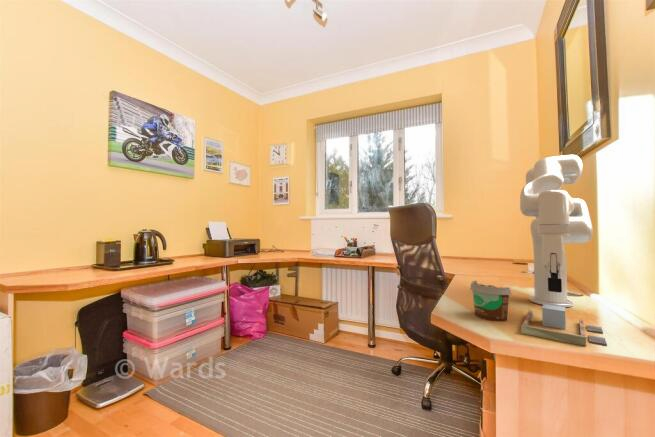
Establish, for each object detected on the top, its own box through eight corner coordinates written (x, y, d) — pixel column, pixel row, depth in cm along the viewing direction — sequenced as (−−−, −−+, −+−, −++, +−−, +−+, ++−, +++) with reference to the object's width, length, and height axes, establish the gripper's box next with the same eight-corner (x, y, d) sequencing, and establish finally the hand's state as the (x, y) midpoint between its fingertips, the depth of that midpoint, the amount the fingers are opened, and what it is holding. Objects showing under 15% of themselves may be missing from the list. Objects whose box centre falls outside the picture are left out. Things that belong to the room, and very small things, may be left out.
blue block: (543, 321, 85) (543, 304, 85) (565, 325, 82) (565, 307, 82) (542, 325, 81) (542, 307, 82) (565, 329, 78) (565, 311, 78)
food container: (461, 313, 93) (461, 281, 93) (475, 310, 95) (474, 280, 96) (497, 325, 82) (496, 289, 82) (511, 322, 84) (511, 287, 84)
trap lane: (529, 315, 91) (529, 308, 91) (600, 326, 80) (600, 319, 80) (521, 333, 75) (521, 325, 75) (608, 350, 65) (608, 341, 65)
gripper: (540, 231, 97) (541, 287, 95) (536, 230, 85) (537, 293, 84) (569, 231, 92) (571, 290, 91) (569, 230, 80) (571, 297, 79)
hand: (554, 291), depth 87 cm, fingers closed
